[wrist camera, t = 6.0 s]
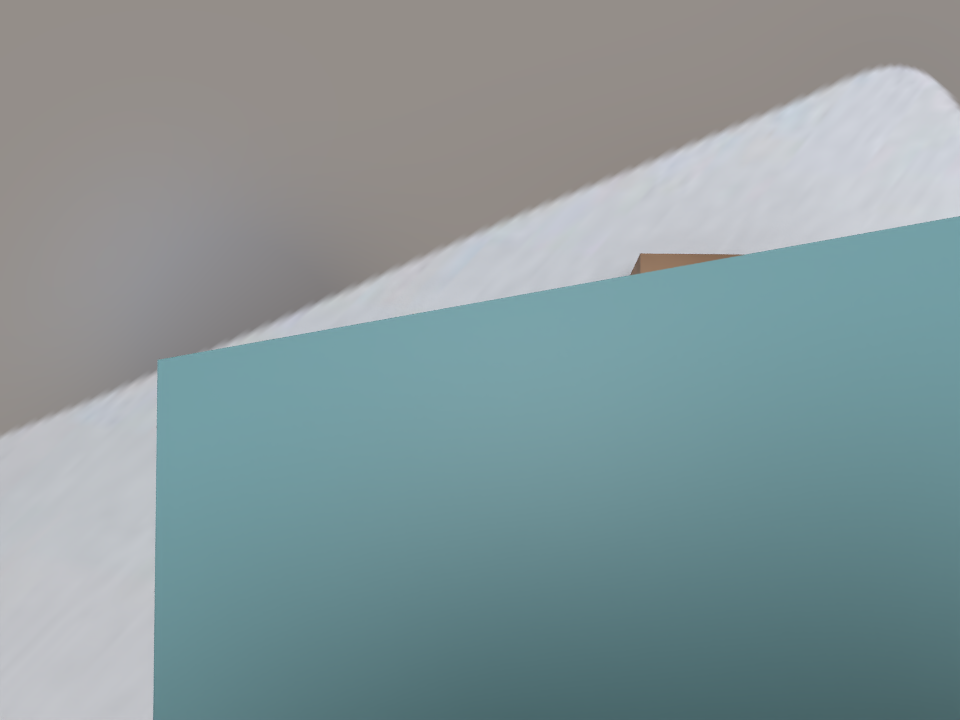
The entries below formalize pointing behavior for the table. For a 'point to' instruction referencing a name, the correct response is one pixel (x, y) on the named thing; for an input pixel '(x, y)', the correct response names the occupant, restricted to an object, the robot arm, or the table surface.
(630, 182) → the table surface
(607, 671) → the teal pillar
